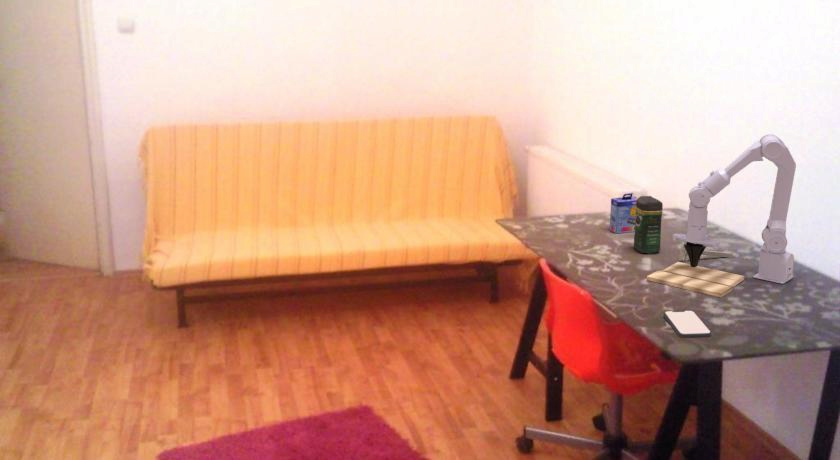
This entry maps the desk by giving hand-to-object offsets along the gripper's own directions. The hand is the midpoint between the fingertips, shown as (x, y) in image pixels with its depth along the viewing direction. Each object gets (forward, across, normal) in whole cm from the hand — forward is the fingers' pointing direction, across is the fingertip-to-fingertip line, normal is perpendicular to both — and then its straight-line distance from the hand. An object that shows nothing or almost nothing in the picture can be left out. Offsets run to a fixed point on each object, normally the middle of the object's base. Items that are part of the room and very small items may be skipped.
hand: (694, 266), depth 280 cm
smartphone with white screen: (+3, -18, +41) cm, 45 cm away
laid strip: (+2, -4, +11) cm, 12 cm away
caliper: (+3, +3, -16) cm, 17 cm away
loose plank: (+2, -4, +2) cm, 5 cm away
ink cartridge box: (+2, +41, -28) cm, 50 cm away
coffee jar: (+2, +23, -12) cm, 26 cm away
